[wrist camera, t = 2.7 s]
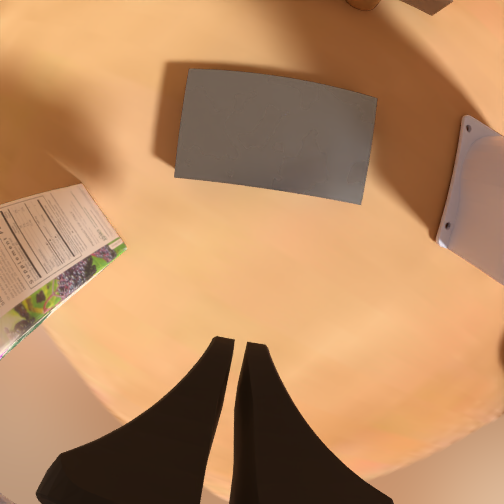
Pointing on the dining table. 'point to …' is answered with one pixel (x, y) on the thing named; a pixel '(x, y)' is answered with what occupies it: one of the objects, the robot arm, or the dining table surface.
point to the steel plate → (275, 134)
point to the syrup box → (49, 256)
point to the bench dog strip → (429, 3)
